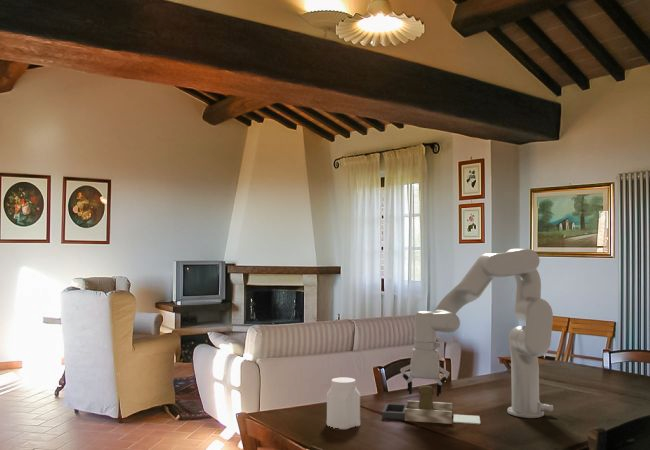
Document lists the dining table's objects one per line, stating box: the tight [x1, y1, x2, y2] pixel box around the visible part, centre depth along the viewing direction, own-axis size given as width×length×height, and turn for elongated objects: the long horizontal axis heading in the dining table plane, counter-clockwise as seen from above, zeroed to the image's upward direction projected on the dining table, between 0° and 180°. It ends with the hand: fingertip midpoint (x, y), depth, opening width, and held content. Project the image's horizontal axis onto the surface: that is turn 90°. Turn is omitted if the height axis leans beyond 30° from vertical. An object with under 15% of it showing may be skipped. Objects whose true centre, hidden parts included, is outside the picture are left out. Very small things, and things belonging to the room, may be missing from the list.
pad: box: [452, 413, 481, 425], centre depth 204 cm, size 9×9×1 cm
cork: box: [418, 385, 434, 410], centre depth 208 cm, size 6×6×11 cm
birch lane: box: [404, 400, 453, 425], centre depth 207 cm, size 16×12×4 cm
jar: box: [326, 376, 361, 430], centre depth 199 cm, size 12×10×15 cm
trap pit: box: [381, 403, 408, 422], centre depth 210 cm, size 8×12×2 cm, turn 167°
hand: (424, 394), depth 208 cm, fingers open, 9 cm apart
